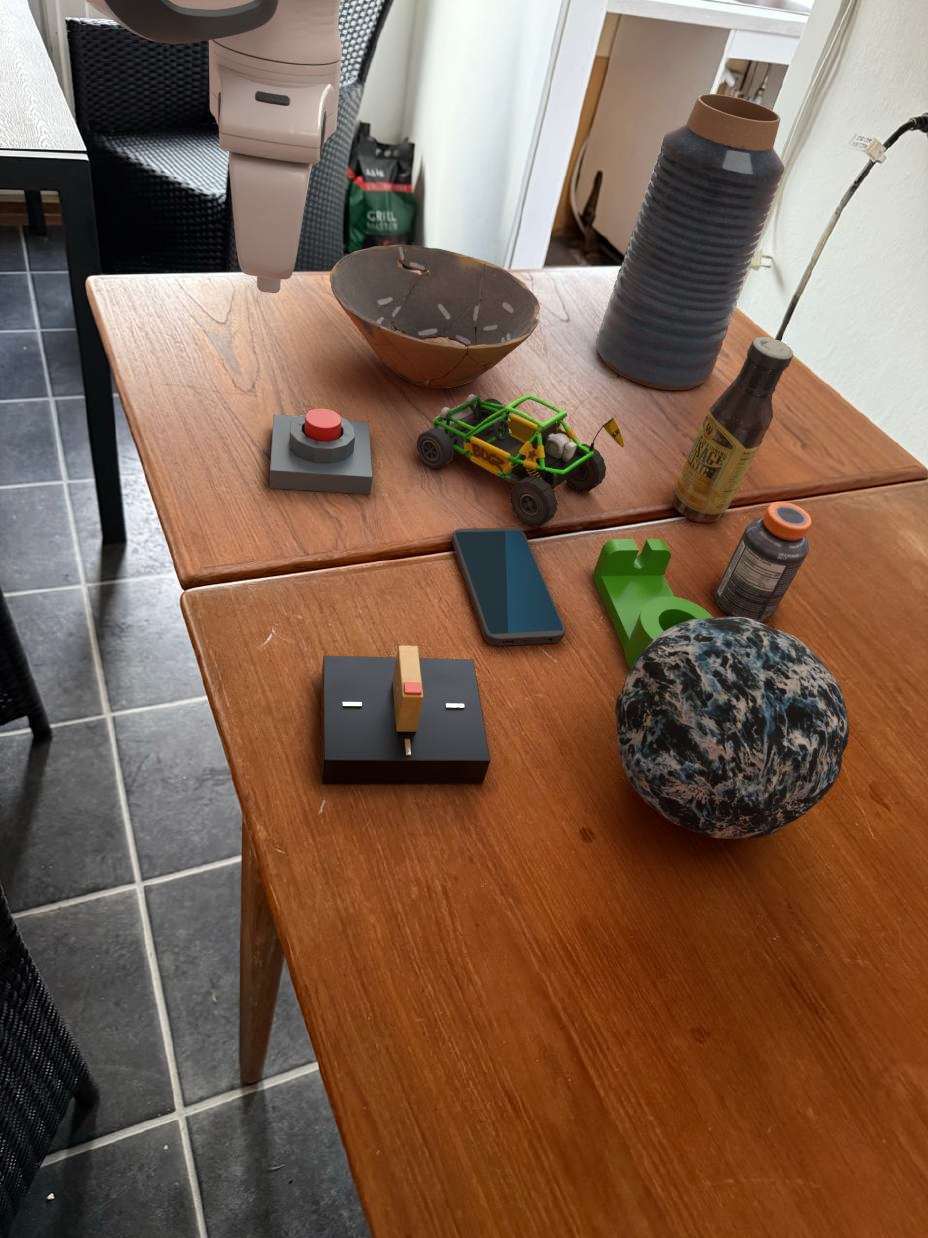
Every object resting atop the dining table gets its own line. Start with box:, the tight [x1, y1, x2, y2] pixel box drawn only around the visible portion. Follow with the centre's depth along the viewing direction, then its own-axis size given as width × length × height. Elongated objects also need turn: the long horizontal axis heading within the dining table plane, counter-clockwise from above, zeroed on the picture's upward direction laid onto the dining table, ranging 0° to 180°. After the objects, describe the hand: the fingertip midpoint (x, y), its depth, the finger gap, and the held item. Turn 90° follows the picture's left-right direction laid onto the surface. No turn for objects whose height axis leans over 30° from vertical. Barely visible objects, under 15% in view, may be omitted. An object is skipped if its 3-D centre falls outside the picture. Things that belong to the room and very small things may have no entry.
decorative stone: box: [614, 615, 850, 840], centre depth 64 cm, size 16×16×15 cm
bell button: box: [304, 407, 342, 442], centre depth 88 cm, size 4×4×2 cm
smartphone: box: [451, 527, 566, 647], centre depth 82 cm, size 8×15×1 cm, turn 13°
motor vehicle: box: [415, 393, 625, 528], centre depth 91 cm, size 12×19×11 cm, turn 51°
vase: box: [595, 93, 786, 391], centre depth 110 cm, size 16×16×32 cm
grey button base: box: [269, 413, 373, 495], centre depth 90 cm, size 10×10×4 cm
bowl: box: [329, 244, 541, 390], centre depth 106 cm, size 25×25×10 cm
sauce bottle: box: [671, 336, 794, 524], centre depth 90 cm, size 6×6×20 cm
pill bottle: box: [714, 501, 812, 624], centre depth 82 cm, size 6×6×11 cm
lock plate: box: [320, 655, 491, 785], centre depth 67 cm, size 12×10×3 cm
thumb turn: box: [392, 644, 423, 732], centre depth 65 cm, size 5×2×4 cm, turn 7°
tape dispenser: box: [591, 538, 714, 670], centre depth 80 cm, size 15×7×5 cm, turn 11°
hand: (269, 284), depth 71 cm, fingers closed
